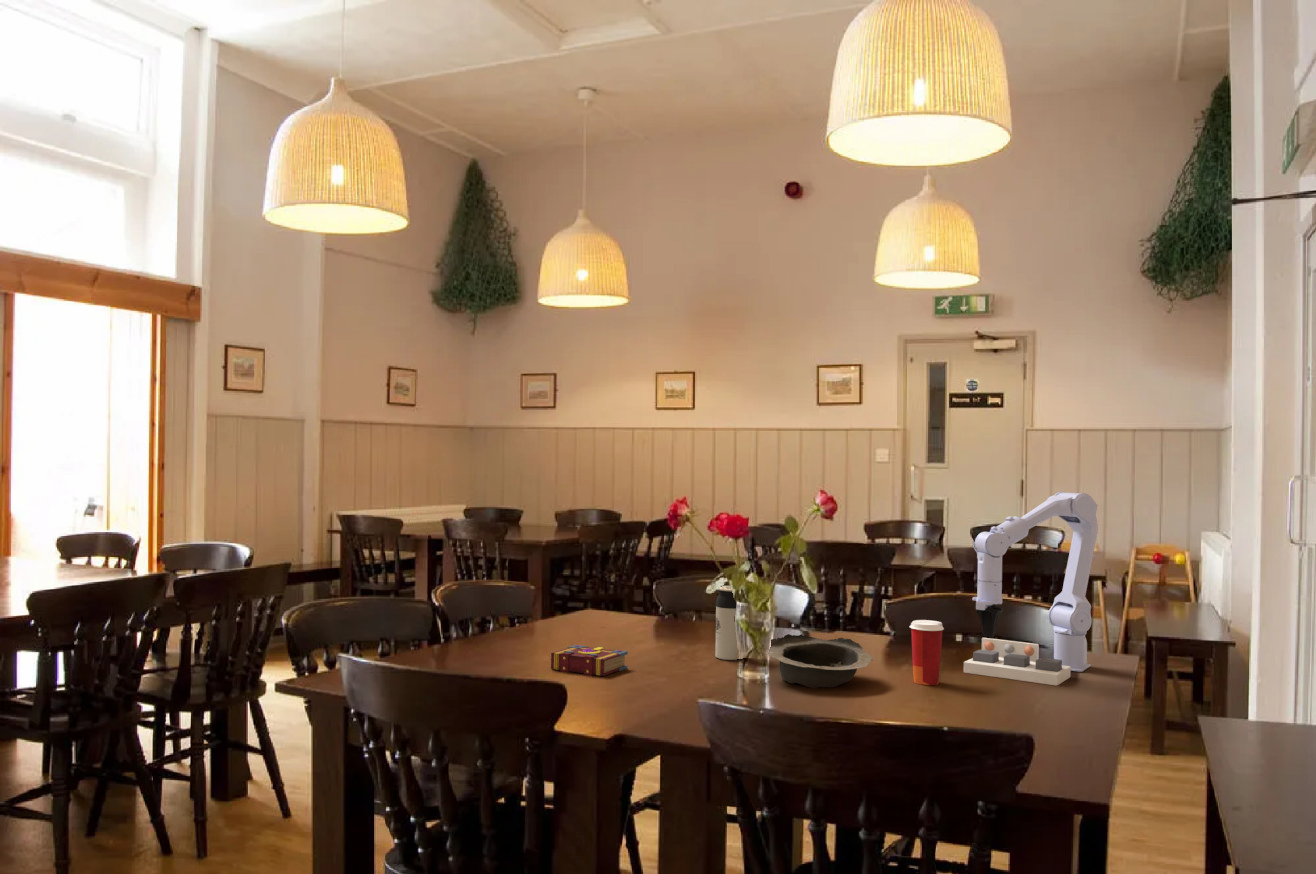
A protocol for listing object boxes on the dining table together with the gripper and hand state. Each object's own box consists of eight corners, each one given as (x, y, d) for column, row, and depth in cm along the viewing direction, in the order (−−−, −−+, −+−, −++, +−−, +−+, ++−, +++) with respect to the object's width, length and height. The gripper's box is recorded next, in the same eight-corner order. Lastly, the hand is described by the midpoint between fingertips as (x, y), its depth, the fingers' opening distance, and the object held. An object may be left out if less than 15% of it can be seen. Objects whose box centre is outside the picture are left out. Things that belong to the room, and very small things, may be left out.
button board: (979, 664, 260) (979, 654, 260) (1070, 677, 247) (1070, 666, 247) (963, 672, 250) (963, 662, 250) (1057, 685, 237) (1057, 674, 237)
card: (982, 660, 265) (983, 637, 265) (1038, 668, 256) (1038, 644, 257) (980, 661, 264) (981, 638, 264) (1036, 669, 255) (1037, 645, 255)
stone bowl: (798, 664, 255) (801, 627, 255) (889, 688, 239) (893, 648, 239) (741, 678, 236) (745, 639, 236) (837, 705, 220) (840, 662, 220)
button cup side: (1041, 669, 247) (1041, 657, 247) (1061, 672, 245) (1061, 660, 245) (1035, 672, 243) (1035, 660, 243) (1056, 675, 241) (1056, 663, 241)
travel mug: (746, 655, 266) (747, 586, 267) (746, 661, 259) (747, 590, 259) (716, 654, 267) (717, 585, 268) (714, 660, 259) (715, 589, 260)
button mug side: (979, 661, 256) (979, 649, 256) (998, 663, 253) (998, 652, 253) (972, 664, 252) (973, 652, 252) (992, 666, 249) (992, 654, 249)
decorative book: (603, 678, 238) (603, 657, 238) (545, 670, 245) (546, 649, 245) (627, 669, 248) (628, 649, 248) (571, 662, 255) (572, 642, 255)
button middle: (1009, 665, 252) (1009, 653, 252) (1029, 667, 249) (1029, 655, 249) (1003, 668, 248) (1003, 656, 248) (1023, 671, 245) (1024, 658, 245)
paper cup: (947, 681, 239) (947, 621, 239) (938, 688, 233) (938, 626, 233) (914, 677, 243) (914, 618, 243) (904, 683, 237) (905, 622, 237)
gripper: (982, 577, 261) (981, 630, 260) (963, 582, 249) (963, 638, 248) (1010, 579, 256) (1010, 633, 256) (993, 584, 245) (992, 641, 244)
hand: (988, 636), depth 252 cm, fingers closed
